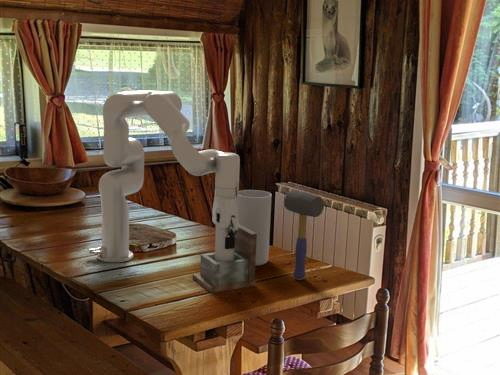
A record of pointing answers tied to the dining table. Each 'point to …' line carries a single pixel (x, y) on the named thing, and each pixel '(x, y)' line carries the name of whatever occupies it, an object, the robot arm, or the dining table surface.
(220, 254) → the travel mug
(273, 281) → the dining table surface
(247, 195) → the cylinder vase
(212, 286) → the post holder
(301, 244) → the rubber mallet
